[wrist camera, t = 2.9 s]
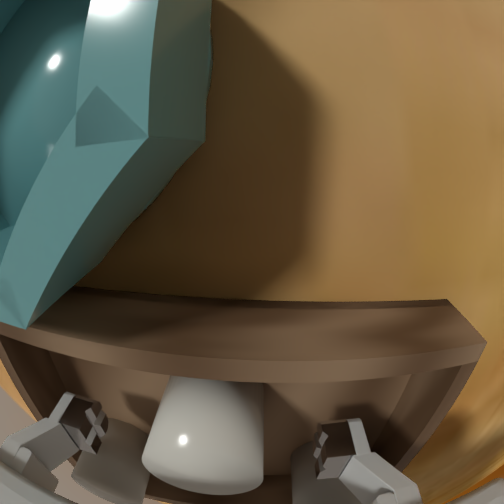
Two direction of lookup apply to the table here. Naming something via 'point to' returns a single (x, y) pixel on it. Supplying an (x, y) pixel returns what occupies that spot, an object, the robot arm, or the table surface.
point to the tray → (252, 367)
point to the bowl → (90, 131)
